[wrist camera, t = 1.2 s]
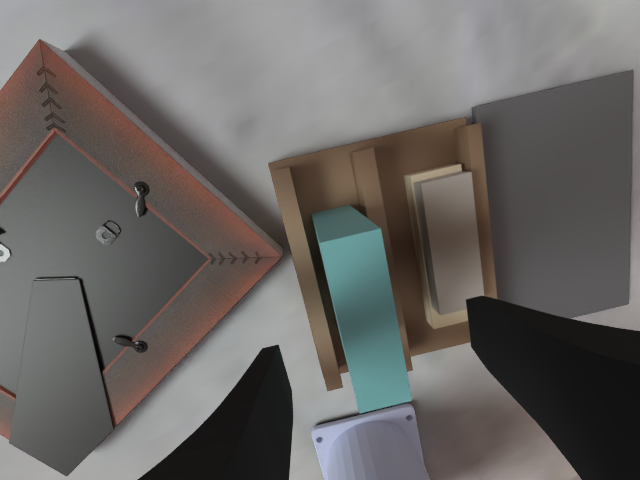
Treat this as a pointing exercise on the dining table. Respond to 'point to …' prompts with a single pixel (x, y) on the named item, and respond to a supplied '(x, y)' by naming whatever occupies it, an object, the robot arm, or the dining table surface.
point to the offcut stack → (445, 241)
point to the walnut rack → (388, 214)
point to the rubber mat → (561, 195)
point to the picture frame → (101, 259)
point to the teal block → (363, 306)
